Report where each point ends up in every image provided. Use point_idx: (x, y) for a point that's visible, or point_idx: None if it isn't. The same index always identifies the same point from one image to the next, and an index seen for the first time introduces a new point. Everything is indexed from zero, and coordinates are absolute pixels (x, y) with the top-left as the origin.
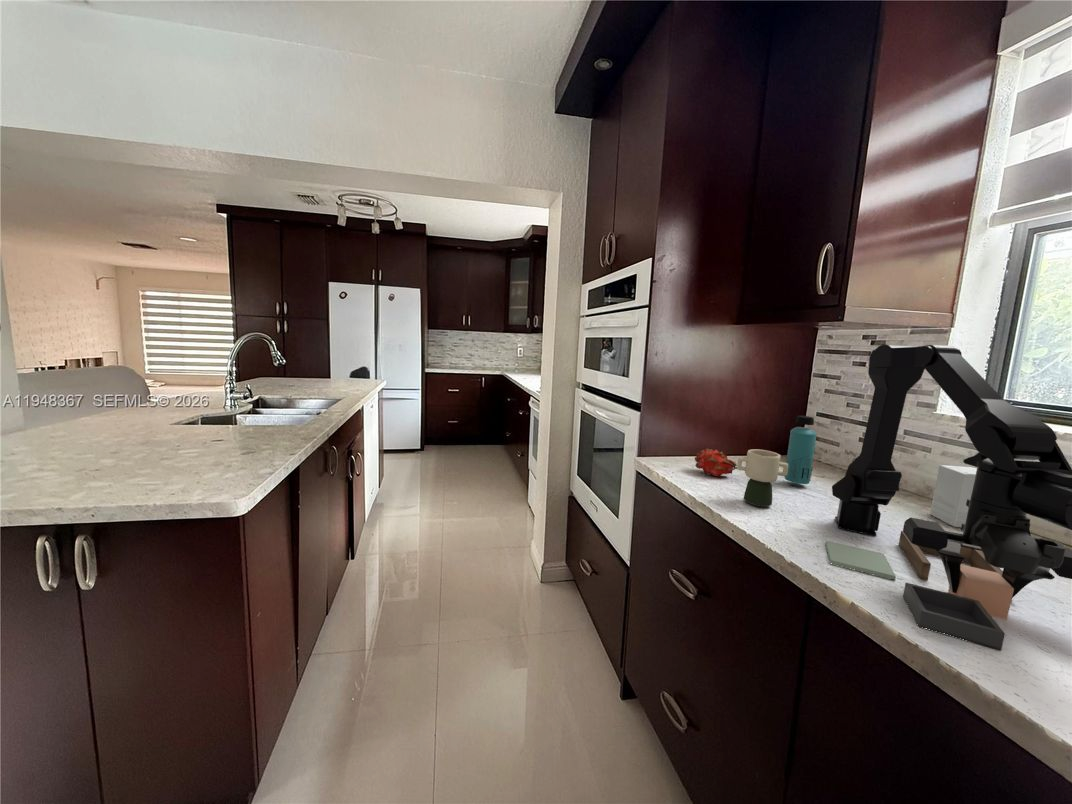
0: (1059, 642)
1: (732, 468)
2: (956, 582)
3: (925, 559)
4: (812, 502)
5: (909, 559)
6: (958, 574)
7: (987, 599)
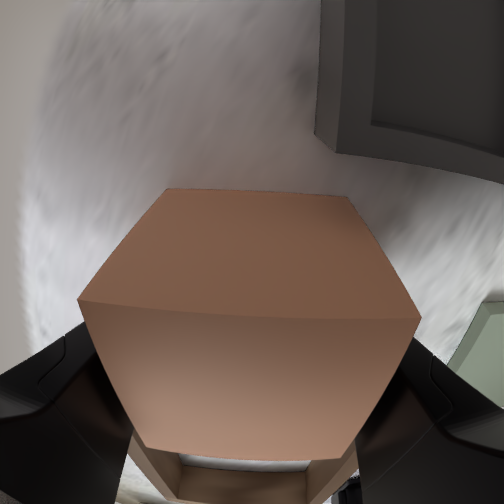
0: (42, 110)
1: None
2: None
3: None
4: None
5: None
6: (400, 365)
7: (246, 229)
